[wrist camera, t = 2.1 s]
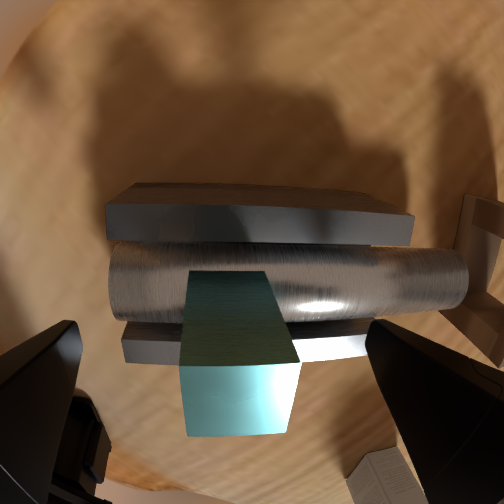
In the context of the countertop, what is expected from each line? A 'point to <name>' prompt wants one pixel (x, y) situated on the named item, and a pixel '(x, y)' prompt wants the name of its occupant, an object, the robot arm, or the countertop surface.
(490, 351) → the socket block
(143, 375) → the countertop surface
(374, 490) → the skincare box
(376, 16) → the countertop surface
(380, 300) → the rod
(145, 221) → the channel
